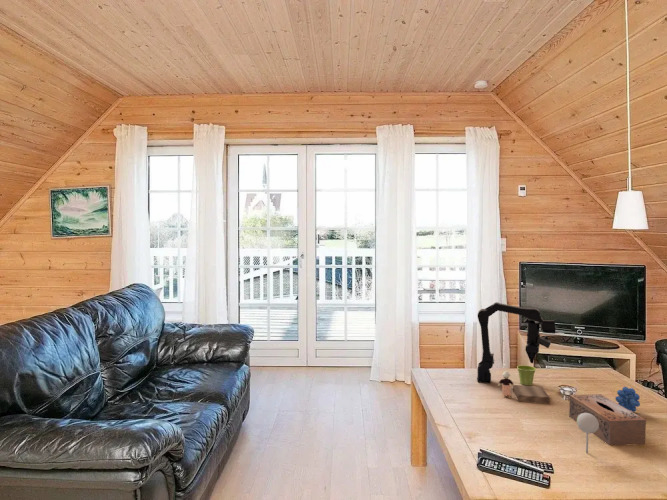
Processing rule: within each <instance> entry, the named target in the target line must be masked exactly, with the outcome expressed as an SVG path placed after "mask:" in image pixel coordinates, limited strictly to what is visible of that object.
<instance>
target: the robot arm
mask: <svg viewBox="0 0 667 500" xmlns="http://www.w3.org/2000/svg"><path fill="white" fill-rule="evenodd" d="M498 311H499V312H504V313H510V314H513V315H518V316H522V317H524V318H525V319H524V320H523V323H524V324H527V325H526V326H527V329H526V332H527V333H526V345H525V353H526V355H527V357H528V360H529V362H530V363H531V364H534V361H535V358H536V355H537V354H538V353H540V345H541V346H543V347H545V348H546V349H549V348H550V345H551V344H552V341H551V340H550V339H549V336H547V335H546V336H540V334H541V333H540V332H541V331H542V333H544V334H554V335H555V334H556V321H555V320H554V319H551V320H550V319H549V320H548V319H543V317H542V316H541V313H540V310H539V309H538V308H537V307H534V306H533V307H531V306H528V307H524V306H523V307H522V306H516V305H510V304H505V303H500V302H497V301H496V302H494V303H493V304H491V305H489V306H487V307H486V308H481V309H479V311H478V312H477V319H478V323H479V325H480V326H479V327H480V333H481V343H482V344H481V345H482V357H481V361H480V362H479V363H478V364H477V369H476V370H477V375H476V380H477V383H485V384H491V381H492V373H491V369H492V368H493V366H494V365H495V358H494V355H495V353H492V352H491V347H490V346H491V345H490V344H491V343H490V334H489V319H490V317H491V316H492V315H494V314H495V313H496V312H498Z"/></svg>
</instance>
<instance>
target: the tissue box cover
mask: <svg viewBox="0 0 667 500" xmlns="http://www.w3.org/2000/svg"><path fill="white" fill-rule="evenodd" d="M568 405H569V406H568V407H569V408H568V411H569V412H568V415H569V418H570V419H572V420H573V421H575V423H577V417H578V416H579V415H580V414H582V413H589V414H592V415H593V416H595V417H596V419H597V420H598V423H599V427H598V429H597V431H596V432H594V433H592V434H593V435H594V436H596V437H597V438H598V439H599V440H601V441H603V442H604V443H605V442H606V443H605V444H607V445H608V446H609V445H611V446H628V445H627V444H636V445H646V431H647V430H646V428H647V426H646V424H647V422H646V421H647V420H646V419H645V418H643V416H640V415H638V414H637V413H635V412H633V411H630V410H628V409H626V408H624V407H623V406H621V405H619V404H618V402H615V401H614V400H612V399H610V398H609V397H606V396H605V395H603V394H601V393H597V394H594V393H593V394H591V393H590V394H569V404H568Z"/></svg>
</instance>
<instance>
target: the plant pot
mask: <svg viewBox="0 0 667 500" xmlns="http://www.w3.org/2000/svg"><path fill="white" fill-rule="evenodd" d="M516 368H517V371H518V377H519V383H520V384H521V385H522V386H533V383H534V376H535V373H536V370H537V368H536V367H534V366H531V365H525V364H524V365H523V364H522V365H517V366H516Z"/></svg>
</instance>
